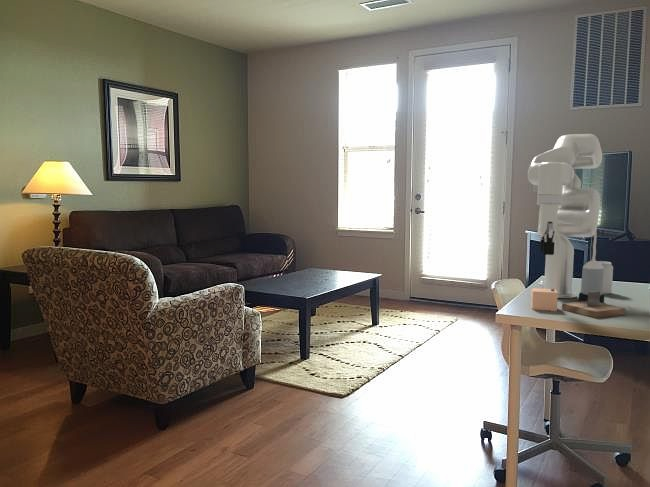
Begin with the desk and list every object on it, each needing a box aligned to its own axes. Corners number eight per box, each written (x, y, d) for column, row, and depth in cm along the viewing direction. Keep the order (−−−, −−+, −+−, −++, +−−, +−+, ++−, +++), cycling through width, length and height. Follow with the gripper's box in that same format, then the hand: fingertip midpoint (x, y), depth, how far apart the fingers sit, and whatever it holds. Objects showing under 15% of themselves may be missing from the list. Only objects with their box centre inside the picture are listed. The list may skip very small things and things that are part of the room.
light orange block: (530, 305, 188) (531, 286, 187) (554, 307, 186) (555, 287, 185) (532, 309, 182) (533, 289, 181) (556, 311, 180) (557, 290, 179)
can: (592, 290, 218) (594, 259, 217) (613, 292, 213) (615, 261, 212) (587, 292, 212) (589, 261, 211) (608, 295, 207) (610, 263, 206)
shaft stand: (562, 309, 183) (563, 289, 182) (590, 306, 188) (591, 287, 187) (595, 318, 171) (596, 296, 170) (625, 314, 176) (626, 293, 175)
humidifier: (589, 305, 189) (594, 232, 187) (573, 300, 197) (577, 230, 194) (609, 304, 191) (614, 232, 189) (592, 299, 199) (596, 230, 197)
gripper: (534, 200, 190) (532, 249, 191) (539, 200, 173) (536, 255, 175) (558, 200, 188) (555, 250, 189) (565, 201, 171) (562, 256, 173)
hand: (546, 253), depth 182 cm, fingers open, 9 cm apart
